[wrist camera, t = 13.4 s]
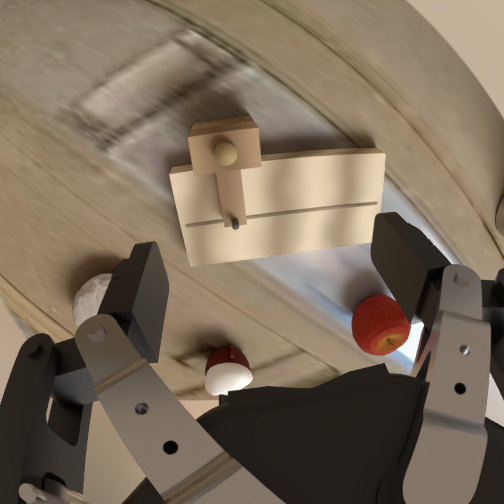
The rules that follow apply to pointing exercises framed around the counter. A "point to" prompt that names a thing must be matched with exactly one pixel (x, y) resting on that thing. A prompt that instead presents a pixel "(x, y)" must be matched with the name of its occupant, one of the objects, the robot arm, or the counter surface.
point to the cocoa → (226, 372)
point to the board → (283, 205)
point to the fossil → (90, 298)
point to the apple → (379, 325)
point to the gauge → (226, 159)
